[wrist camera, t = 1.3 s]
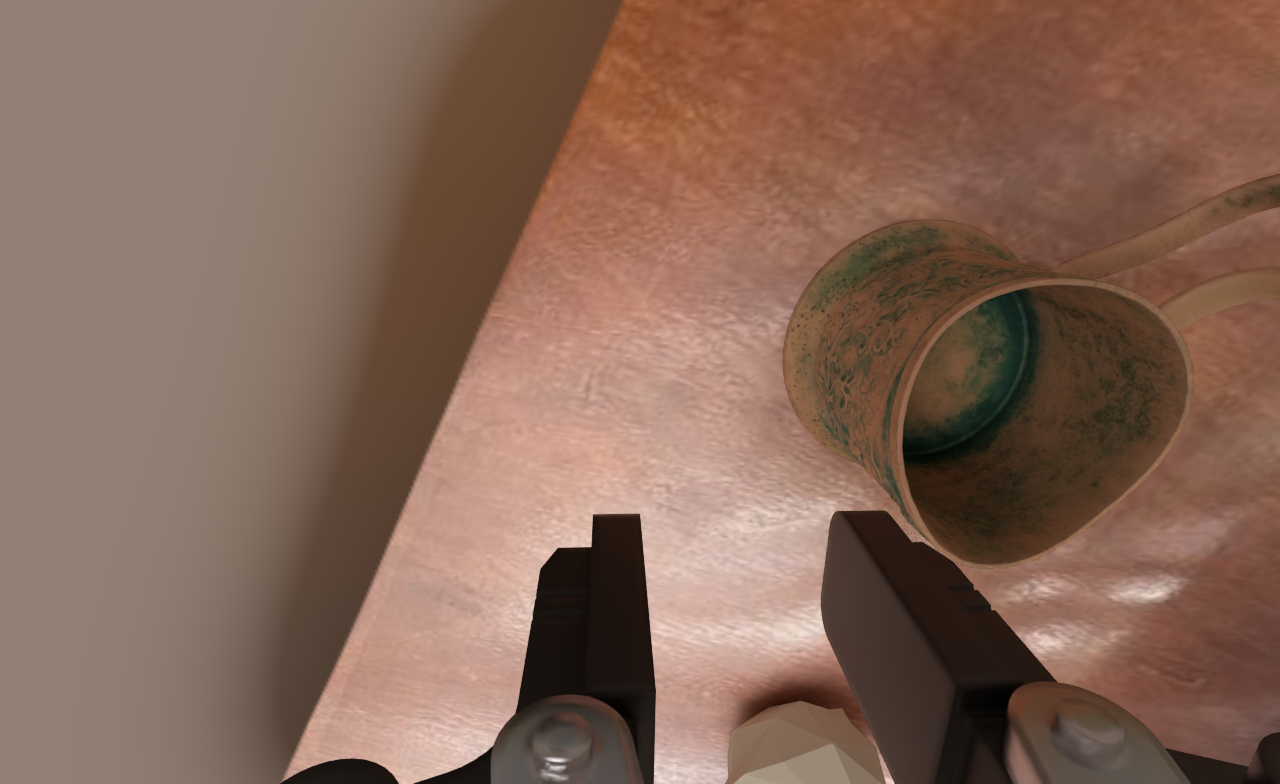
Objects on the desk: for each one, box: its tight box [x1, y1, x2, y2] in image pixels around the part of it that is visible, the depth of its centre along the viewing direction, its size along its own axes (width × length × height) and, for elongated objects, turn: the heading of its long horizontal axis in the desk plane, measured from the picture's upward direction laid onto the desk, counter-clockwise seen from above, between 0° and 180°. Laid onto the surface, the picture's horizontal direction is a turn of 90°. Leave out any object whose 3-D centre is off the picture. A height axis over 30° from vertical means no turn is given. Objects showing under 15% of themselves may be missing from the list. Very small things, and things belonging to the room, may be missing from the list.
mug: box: [783, 174, 1280, 569], centre depth 23 cm, size 12×18×12 cm, turn 131°
